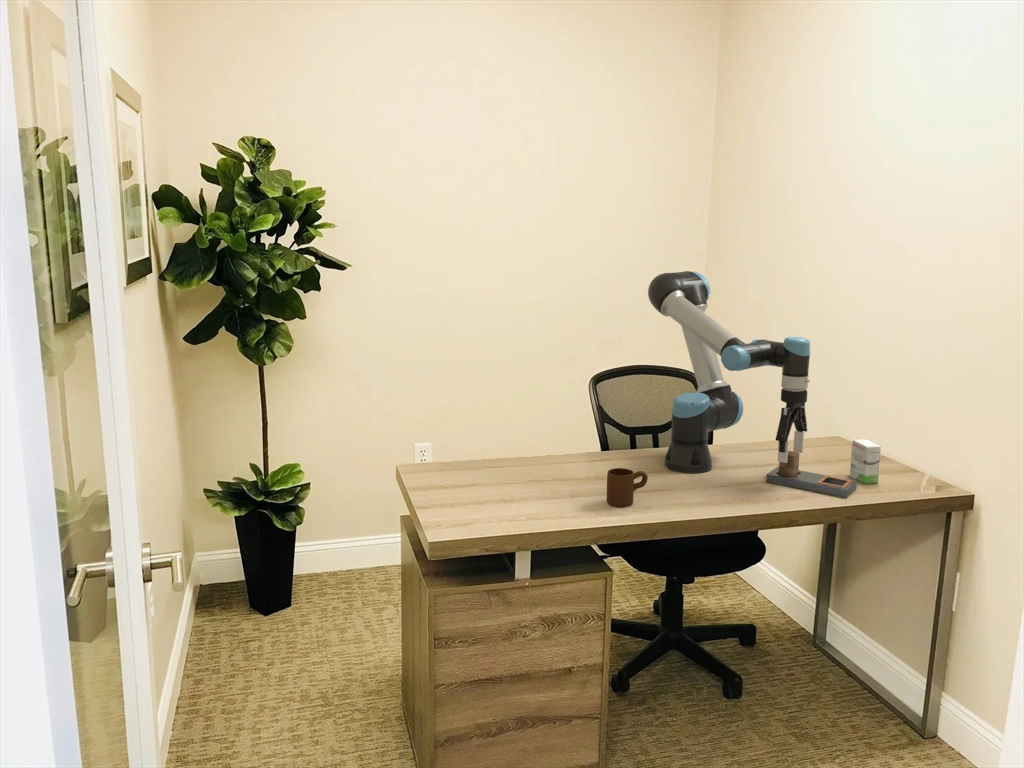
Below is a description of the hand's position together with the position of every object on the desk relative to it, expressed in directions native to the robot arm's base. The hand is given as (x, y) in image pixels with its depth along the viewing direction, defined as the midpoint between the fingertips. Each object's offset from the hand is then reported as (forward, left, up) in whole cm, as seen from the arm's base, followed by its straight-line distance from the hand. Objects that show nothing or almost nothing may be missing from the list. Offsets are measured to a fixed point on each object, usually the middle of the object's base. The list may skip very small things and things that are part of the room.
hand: (790, 456), depth 260 cm
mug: (-30, -47, -8) cm, 56 cm away
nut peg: (0, 0, -8) cm, 8 cm away
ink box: (+18, +16, -8) cm, 25 cm away
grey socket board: (+7, 0, -8) cm, 10 cm away
